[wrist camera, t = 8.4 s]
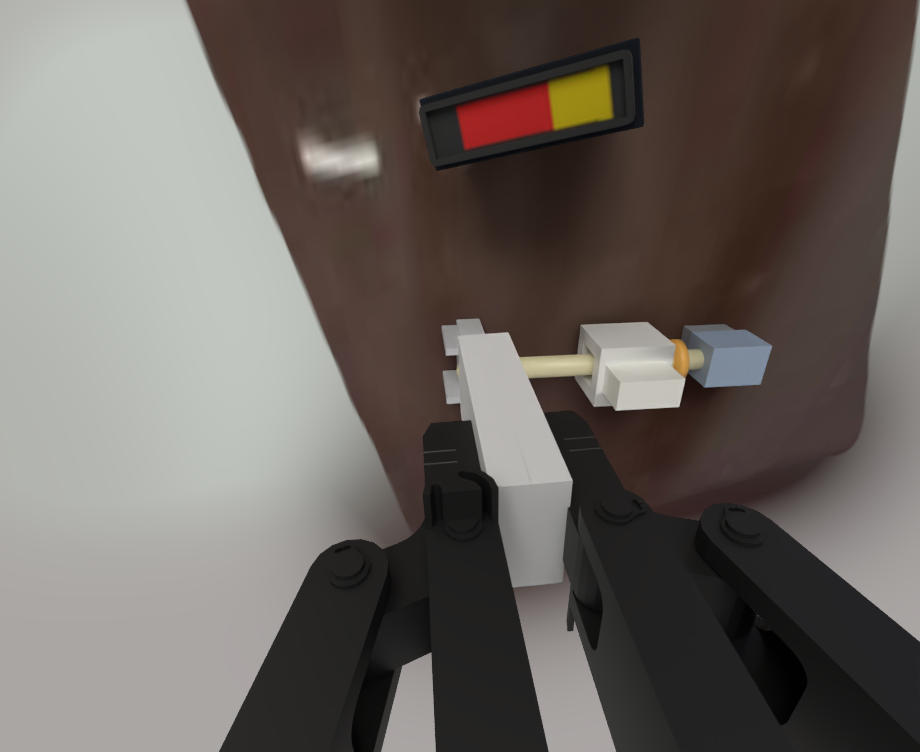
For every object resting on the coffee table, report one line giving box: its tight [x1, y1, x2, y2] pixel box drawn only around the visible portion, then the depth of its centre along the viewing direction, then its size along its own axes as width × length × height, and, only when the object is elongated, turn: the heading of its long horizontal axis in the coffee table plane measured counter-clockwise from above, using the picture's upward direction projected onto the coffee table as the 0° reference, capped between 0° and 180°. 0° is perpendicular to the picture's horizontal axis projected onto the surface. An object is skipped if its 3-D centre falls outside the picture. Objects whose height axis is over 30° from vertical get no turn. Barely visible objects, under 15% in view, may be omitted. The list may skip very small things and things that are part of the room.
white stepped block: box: [575, 322, 686, 411], centre depth 41 cm, size 5×6×8 cm
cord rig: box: [442, 319, 772, 404], centre depth 43 cm, size 6×27×6 cm, turn 90°
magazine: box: [419, 38, 644, 171], centre depth 31 cm, size 4×13×15 cm, turn 103°
